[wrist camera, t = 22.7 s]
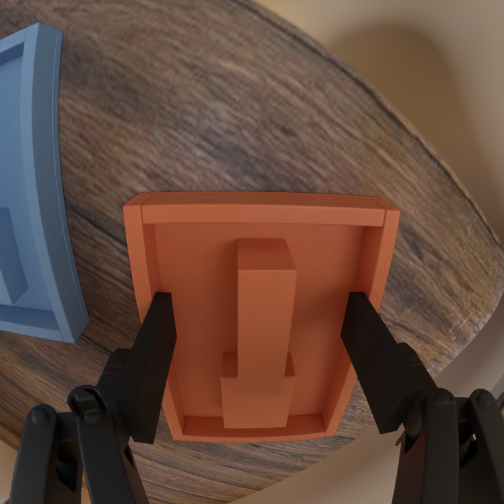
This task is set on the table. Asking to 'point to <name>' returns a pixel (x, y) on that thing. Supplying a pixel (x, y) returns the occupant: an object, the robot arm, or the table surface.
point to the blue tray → (37, 188)
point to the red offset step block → (261, 338)
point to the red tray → (225, 294)
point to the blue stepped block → (10, 263)
